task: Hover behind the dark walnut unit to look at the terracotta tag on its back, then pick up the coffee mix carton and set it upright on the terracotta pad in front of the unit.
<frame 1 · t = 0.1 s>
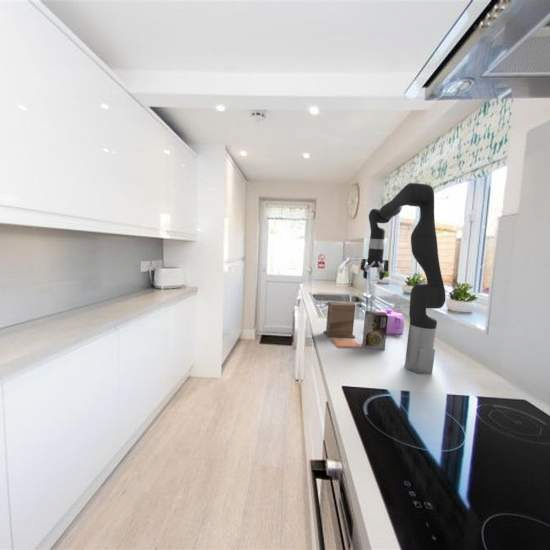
hand: (373, 279, 158), 29 cm above the counter, tool pointing down, fingers open, 8 cm apart
walnut unit: (338, 335, 154), on the counter
teakettle: (385, 331, 169), on the counter
coffee box: (373, 347, 140), on the counter
terracotta pad: (345, 343, 141), on the counter
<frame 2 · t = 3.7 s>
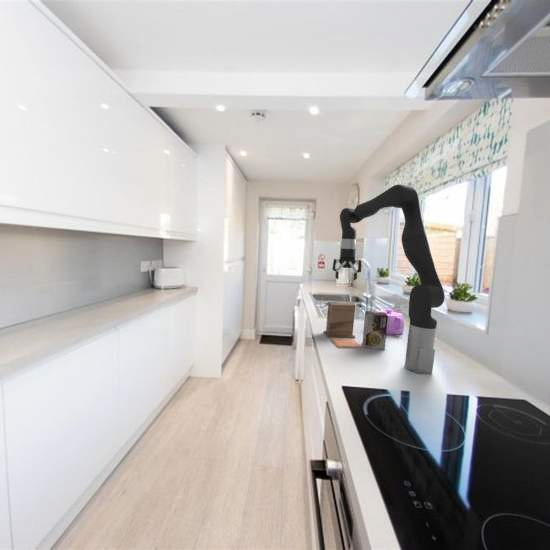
hand: (345, 279, 155), 28 cm above the counter, tool pointing down, fingers open, 8 cm apart
nothing on the counter moved.
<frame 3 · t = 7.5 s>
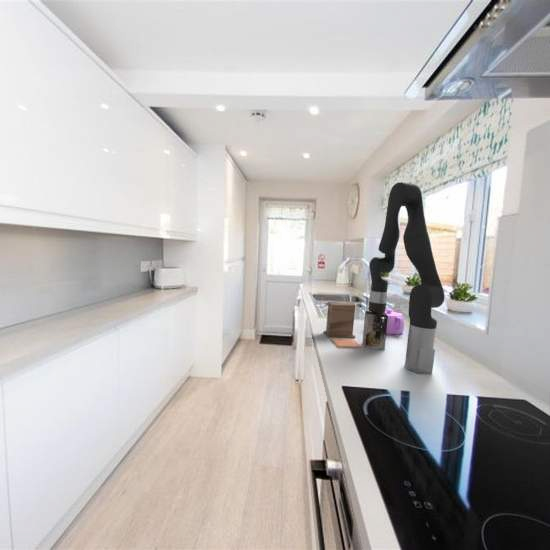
hand: (374, 336, 139), 5 cm above the counter, tool pointing down, fingers closed on coffee box, 7 cm apart
coffee box: (372, 347, 140), on the counter, touching gripper
everything else where it was.
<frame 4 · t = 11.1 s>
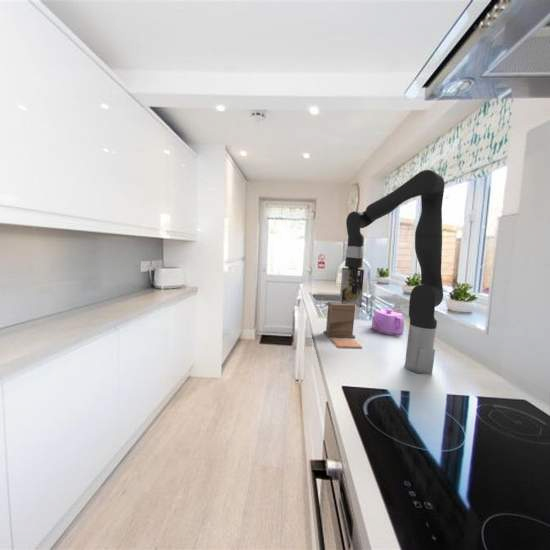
hand: (351, 292, 138), 25 cm above the counter, tool pointing down, fingers closed on coffee box, 7 cm apart
coffee box: (349, 303, 139), point 19 cm above the counter, touching gripper
everything else where it was.
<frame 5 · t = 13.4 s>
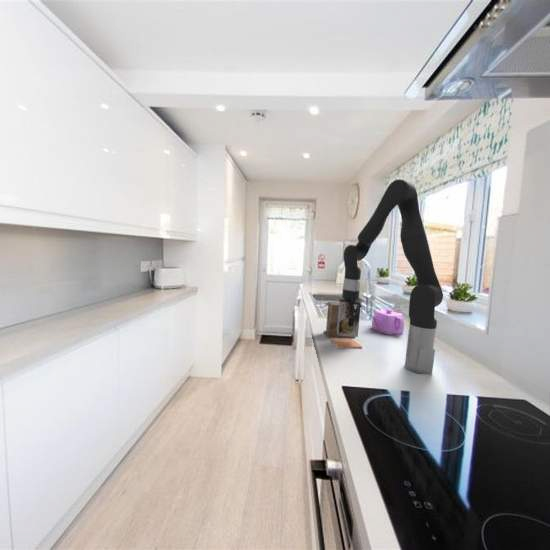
hand: (347, 323, 140), 10 cm above the counter, tool pointing down, fingers closed on coffee box, 7 cm apart
coffee box: (346, 334, 141), point 4 cm above the counter, touching gripper
everything else where it was.
when the fingers open (7 cm above the counter, at t = 15.1 s): coffee box drops 1 cm, resting on terracotta pad.
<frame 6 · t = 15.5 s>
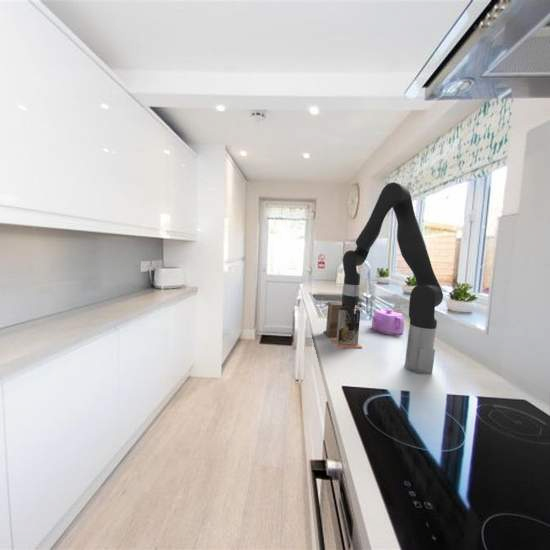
hand: (347, 328, 140), 8 cm above the counter, tool pointing down, fingers open, 8 cm apart
coffee box: (346, 342, 141), point 1 cm above the counter, touching terracotta pad
everything else where it was.
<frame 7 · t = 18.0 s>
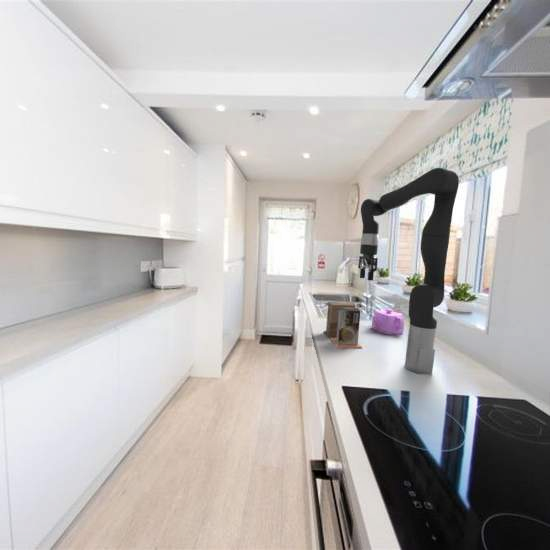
hand: (366, 279, 139), 31 cm above the counter, tool pointing down, fingers open, 8 cm apart
nothing on the counter moved.
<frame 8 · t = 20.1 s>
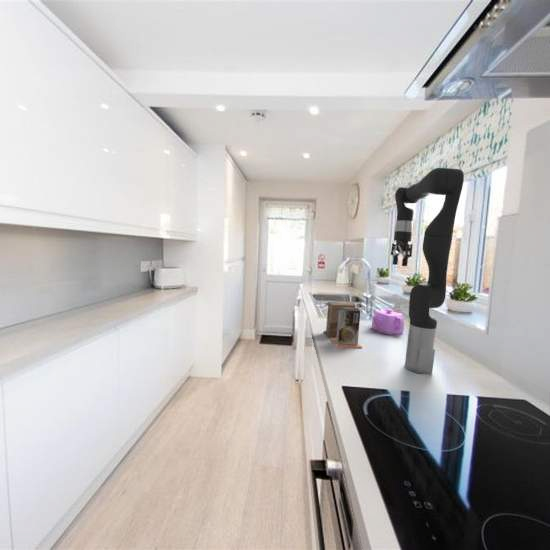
hand: (399, 265, 143), 38 cm above the counter, tool pointing down, fingers open, 8 cm apart
nothing on the counter moved.
at the end: coffee box inside the target area on the terracotta pad (0.2 cm from its centre), point 0.6 cm above the terracotta pad's base; coffee box tilted 0°; the gripper is holding nothing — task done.
